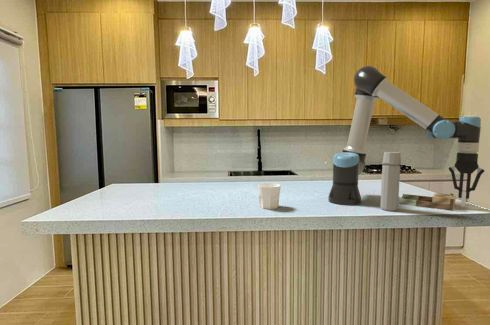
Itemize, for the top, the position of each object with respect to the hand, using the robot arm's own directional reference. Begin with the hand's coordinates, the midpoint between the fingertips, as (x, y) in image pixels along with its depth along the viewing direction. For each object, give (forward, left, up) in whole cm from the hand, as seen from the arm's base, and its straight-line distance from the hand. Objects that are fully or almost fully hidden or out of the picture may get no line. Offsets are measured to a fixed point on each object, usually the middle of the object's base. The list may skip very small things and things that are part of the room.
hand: (462, 205), depth 134 cm
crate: (-7, 0, -2) cm, 7 cm away
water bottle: (-27, -19, -2) cm, 33 cm away
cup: (-72, -46, -2) cm, 86 cm away
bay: (-14, 0, -1) cm, 14 cm away
